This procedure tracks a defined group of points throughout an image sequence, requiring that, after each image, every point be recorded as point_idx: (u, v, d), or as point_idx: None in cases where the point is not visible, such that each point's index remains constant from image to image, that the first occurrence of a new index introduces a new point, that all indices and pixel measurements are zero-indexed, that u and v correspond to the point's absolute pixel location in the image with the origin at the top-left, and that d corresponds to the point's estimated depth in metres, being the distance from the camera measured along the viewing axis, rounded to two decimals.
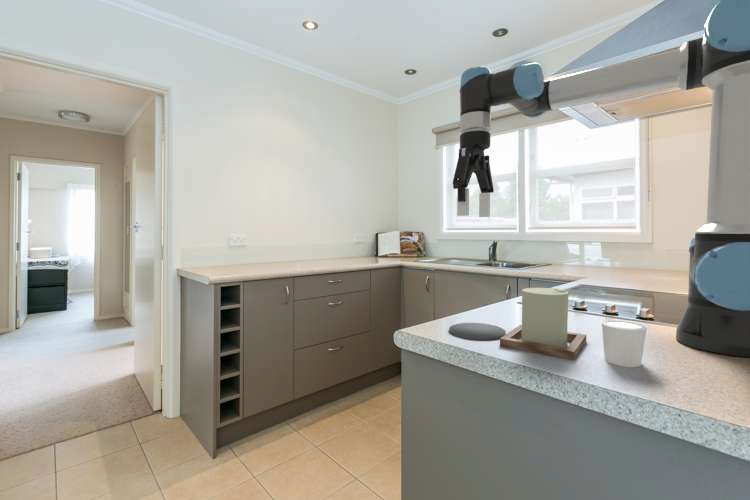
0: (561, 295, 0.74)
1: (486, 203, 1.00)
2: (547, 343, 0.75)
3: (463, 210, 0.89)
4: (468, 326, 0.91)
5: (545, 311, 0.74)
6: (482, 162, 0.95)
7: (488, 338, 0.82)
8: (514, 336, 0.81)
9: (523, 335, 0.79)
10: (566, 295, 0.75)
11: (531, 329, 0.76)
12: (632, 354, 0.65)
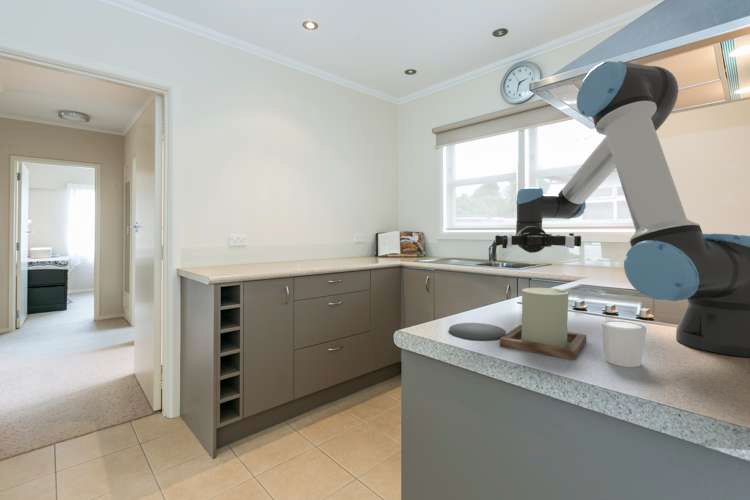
0: (561, 295, 0.74)
1: (567, 238, 0.88)
2: (547, 343, 0.75)
3: None
4: (468, 326, 0.91)
5: (545, 311, 0.74)
6: (539, 234, 1.00)
7: (488, 338, 0.82)
8: (514, 336, 0.81)
9: (523, 335, 0.79)
10: (566, 295, 0.75)
11: (531, 329, 0.76)
12: (632, 354, 0.65)
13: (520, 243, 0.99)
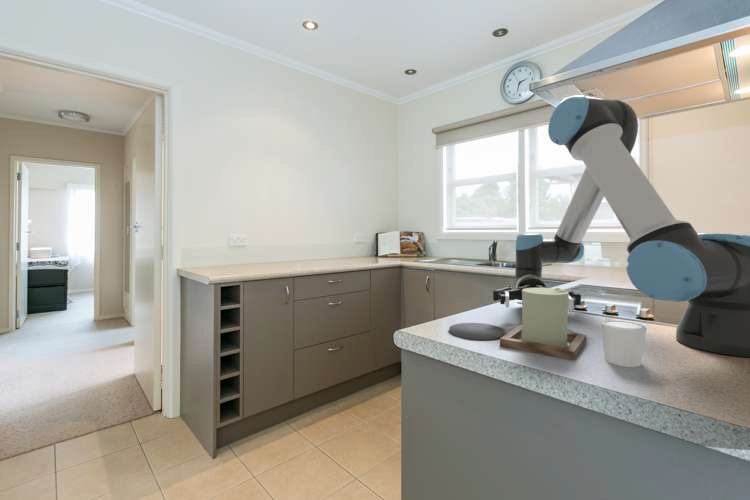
0: (561, 295, 0.74)
1: None
2: (547, 343, 0.75)
3: None
4: (468, 326, 0.91)
5: (545, 311, 0.74)
6: None
7: (488, 338, 0.82)
8: (514, 336, 0.81)
9: (523, 335, 0.79)
10: (566, 295, 0.75)
11: (531, 329, 0.76)
12: (632, 354, 0.65)
13: (519, 297, 0.96)
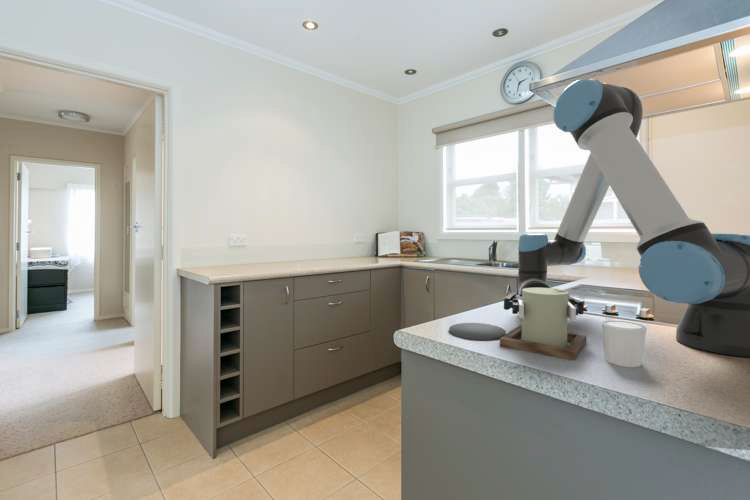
0: (561, 295, 0.74)
1: (568, 307, 0.76)
2: (547, 343, 0.75)
3: (519, 309, 0.77)
4: (468, 326, 0.91)
5: (545, 311, 0.74)
6: None
7: (488, 338, 0.82)
8: (514, 336, 0.81)
9: (523, 335, 0.79)
10: (566, 295, 0.75)
11: (531, 329, 0.76)
12: (632, 354, 0.65)
13: None
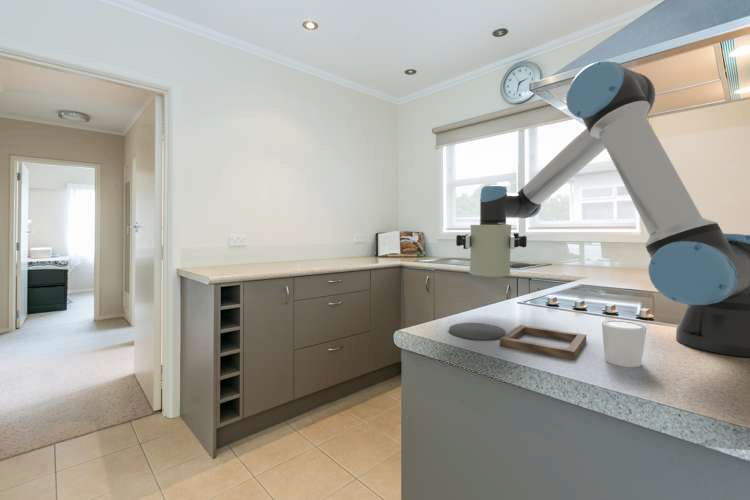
0: (502, 225, 0.81)
1: None
2: (489, 270, 0.82)
3: None
4: (468, 326, 0.91)
5: (488, 240, 0.82)
6: None
7: (488, 338, 0.82)
8: (514, 336, 0.81)
9: (470, 265, 0.86)
10: (508, 226, 0.82)
11: (476, 258, 0.84)
12: (632, 354, 0.65)
13: None
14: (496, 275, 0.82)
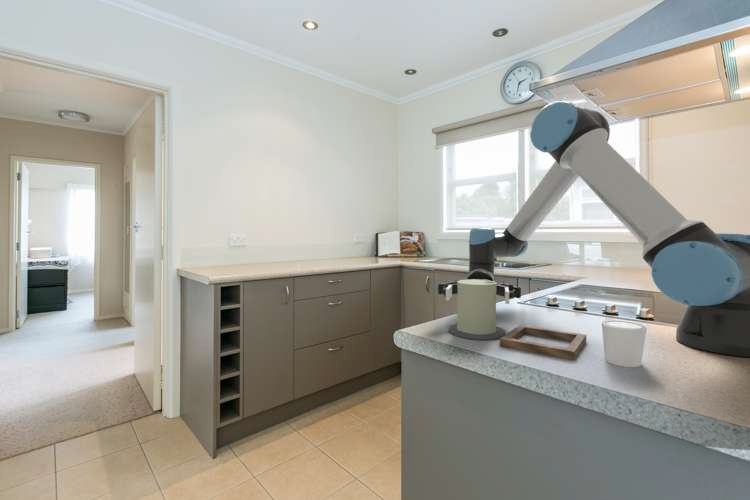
0: (488, 285, 0.83)
1: None
2: (476, 328, 0.84)
3: None
4: None
5: (474, 299, 0.84)
6: None
7: (488, 338, 0.82)
8: (514, 336, 0.81)
9: (458, 321, 0.88)
10: (493, 285, 0.84)
11: (463, 316, 0.86)
12: (632, 354, 0.65)
13: None
14: (482, 333, 0.84)
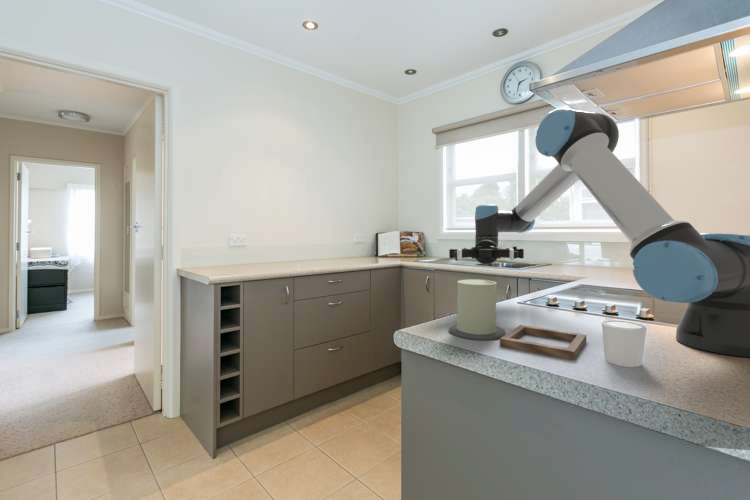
0: (488, 285, 0.83)
1: None
2: (476, 328, 0.84)
3: None
4: None
5: (474, 299, 0.84)
6: (490, 247, 1.10)
7: (488, 338, 0.82)
8: (514, 336, 0.81)
9: (458, 321, 0.88)
10: (493, 285, 0.84)
11: (463, 316, 0.86)
12: (632, 354, 0.65)
13: (472, 256, 1.09)
14: (482, 333, 0.84)
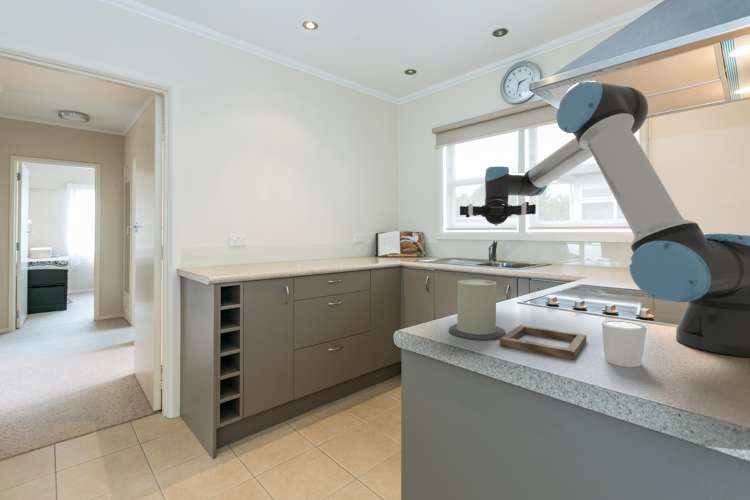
0: (488, 285, 0.83)
1: (522, 206, 0.97)
2: (476, 328, 0.84)
3: None
4: None
5: (474, 299, 0.84)
6: (501, 205, 1.08)
7: (488, 338, 0.82)
8: (514, 336, 0.81)
9: (458, 321, 0.88)
10: (493, 285, 0.84)
11: (463, 316, 0.86)
12: (632, 354, 0.65)
13: (483, 213, 1.07)
14: (482, 333, 0.84)
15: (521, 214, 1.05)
